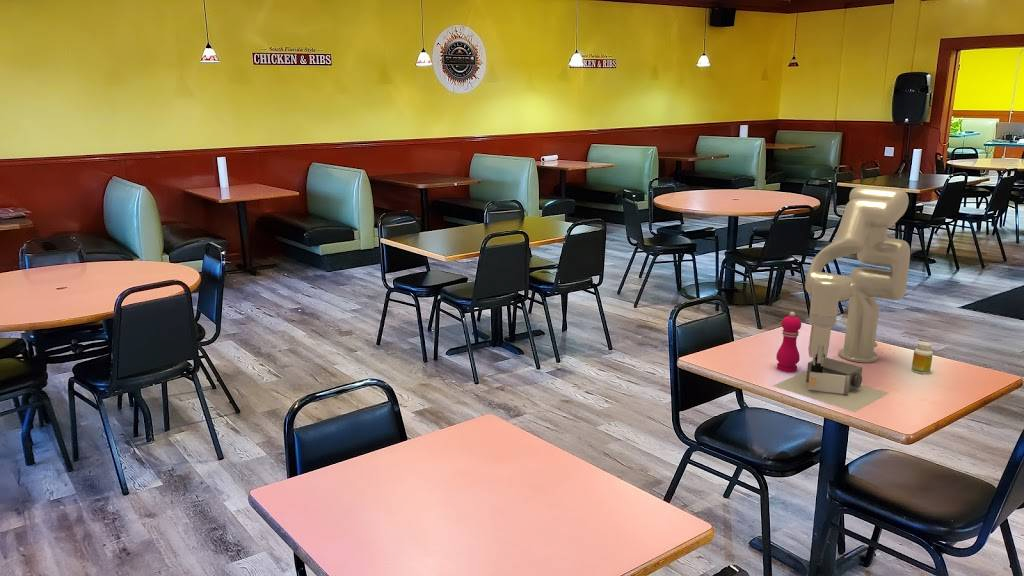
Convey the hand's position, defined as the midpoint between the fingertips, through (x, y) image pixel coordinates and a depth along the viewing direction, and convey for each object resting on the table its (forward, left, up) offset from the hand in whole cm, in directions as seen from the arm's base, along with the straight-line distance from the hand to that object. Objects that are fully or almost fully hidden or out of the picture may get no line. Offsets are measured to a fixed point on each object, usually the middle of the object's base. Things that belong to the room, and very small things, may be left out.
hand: (815, 376), depth 233 cm
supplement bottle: (-42, +14, -5) cm, 45 cm away
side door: (+1, +5, -4) cm, 6 cm away
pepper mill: (-9, -15, -5) cm, 18 cm away
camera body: (-8, +2, -4) cm, 9 cm away
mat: (-3, +3, -4) cm, 6 cm away
